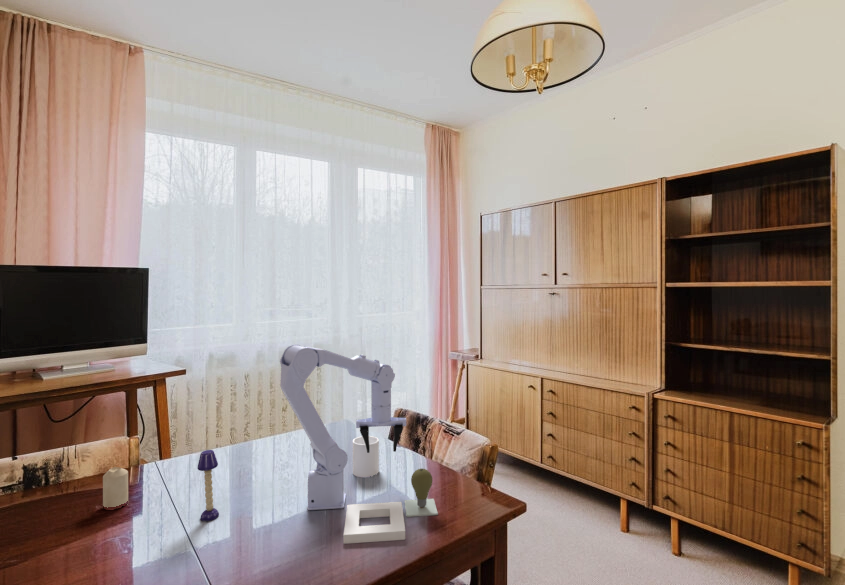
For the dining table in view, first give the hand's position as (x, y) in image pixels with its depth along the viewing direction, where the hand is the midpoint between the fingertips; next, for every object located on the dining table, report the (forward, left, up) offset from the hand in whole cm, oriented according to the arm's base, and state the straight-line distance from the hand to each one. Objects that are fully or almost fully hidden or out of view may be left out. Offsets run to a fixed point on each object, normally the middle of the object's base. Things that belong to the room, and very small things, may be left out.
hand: (381, 451), depth 127 cm
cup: (-5, +13, -11) cm, 18 cm away
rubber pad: (+10, -14, -10) cm, 20 cm away
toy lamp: (-44, -12, -11) cm, 47 cm away
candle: (-71, -3, -11) cm, 72 cm away
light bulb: (+10, -14, -10) cm, 20 cm away
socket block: (-2, -21, -10) cm, 24 cm away
